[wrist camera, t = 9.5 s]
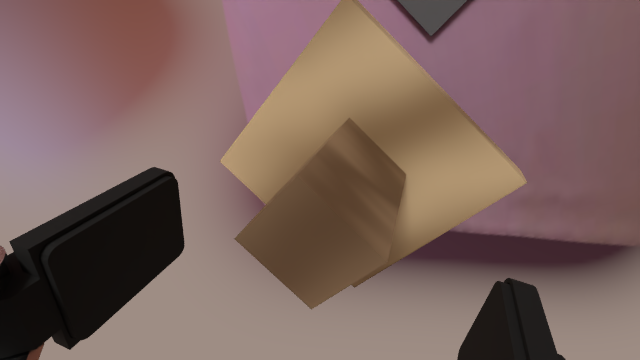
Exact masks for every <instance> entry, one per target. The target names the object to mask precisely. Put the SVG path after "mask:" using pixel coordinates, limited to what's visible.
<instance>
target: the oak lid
mask: <svg viewBox="0 0 640 360" xmlns="http://www.w3.org/2000/svg"><path fill="white" fill-rule="evenodd" d="M220 162H221V163H222V164H223V165H225V167H226V168H228V169H229V170H230V171H231V172H232V173H233V174H234V175H235V176H236V177H237V178H238V179H239V180H240V181H241V182H242V183H244V184H245V185H246V186H247V187H248V188H249V189H250V190H251V191H252V192H253V193H254V194H255V195H256V196H257V197H258V198H260V199H261V200H262V201H263V202H264V203H265V204H266V205H265V206H264V207H263V208H262V210H261V211H260V212H259V213H258V214H257V215H256V216H255V217H254V218H253V219H252V220H251V221H250V223H249V224H248V225H247V226H246V227H245V228H244V229H243V230H242V231H241V233H239V234H238V236H237V237H236V238H235V240H236V241H237V242H238V243H240V244H241V245H242V246H243V247H244V248H245V249H246V250H247V251H248V252H249V253H251V254H252V255H253V256H254V257H255V258H256V259H257V260H258V261H259V262H260V263H261V264H262V265H264V266H265V267H266V268H267V269H268V270H269V271H270V272H271V273H272V274H273V275H274V276H276V277H277V278H278V279H279V280H280V281H281V282H282V283H283V284H284V285H285V286H286V287H288V288H289V289H290V290H291V291H292V292H293V293H294V294H295V295H296V296H297V297H299V298H300V299H301V300H302V301H303V302H304V303H305V304H306V305H307V306H308V307H309V308H310V309H312V308H314V307H316V306H318V305H319V304H321V303H322V302H324V301H326V300H327V299H329V298H330V297H332V296H334V295H335V294H337V293H339V292H340V291H342V290H343V289H345V288H347V287H348V286H350V285H352V286H353V287H356V286H358V285H359V284H361V283H363V282H364V281H366V280H367V279H369V278H371V277H372V276H374V275H376V274H377V273H379V272H381V271H382V270H384V269H386V268H387V267H389V266H391V265H392V264H394V263H396V262H397V261H399V260H401V259H402V258H404V257H405V256H407V255H409V254H410V253H412V252H414V251H415V250H417V249H419V248H420V247H422V246H423V245H425V244H427V243H429V242H430V241H432V240H433V239H435V238H437V237H438V236H440V235H442V234H443V233H445V232H447V231H448V230H450V229H452V228H453V227H455V226H457V225H458V224H460V223H461V222H463V221H465V220H466V219H468V218H470V217H471V216H473V215H475V214H476V213H478V212H480V211H481V210H483V209H485V208H486V207H488V206H489V205H491V204H493V203H494V202H496V201H498V200H499V199H501V198H503V197H504V196H506V195H508V194H509V193H511V192H513V191H514V190H516V189H517V188H519V187H521V186H522V185H524V184H526V183H527V182H526V180H525V178H524V176H523V174H522V172H521V170H520V169H519V168H518V167H517V166H516V165H515V164H514V163H513V162H512V161H511V160H510V159H509V158H508V157H507V156H506V155H505V153H504V152H503V151H502V150H501V149H500V148H499V147H498V146H497V145H496V144H495V143H494V142H493V141H492V140H491V139H490V138H489V137H488V136H487V135H486V134H485V133H484V132H483V131H482V130H481V128H480V127H479V126H478V125H477V124H476V123H475V122H474V121H473V120H472V119H471V118H470V117H469V116H468V115H467V114H466V113H465V112H464V111H463V110H462V109H461V108H460V107H459V106H458V105H457V103H456V102H455V101H454V100H453V99H452V98H451V97H450V96H449V95H448V94H447V93H446V92H445V91H444V90H443V89H442V88H441V87H440V86H439V85H438V84H437V83H436V82H435V81H434V80H433V78H432V77H431V76H430V75H429V74H428V73H427V72H426V71H425V70H424V69H423V68H422V67H421V66H420V65H419V64H418V63H417V62H416V61H415V60H414V59H413V58H412V57H411V56H410V55H409V53H408V52H407V51H406V50H405V49H404V48H403V47H402V46H401V45H400V44H399V43H398V42H397V41H396V40H395V39H394V38H393V37H392V36H391V35H390V34H389V33H388V32H387V31H386V30H385V28H384V27H383V26H382V25H381V24H380V23H379V22H378V21H377V20H376V19H375V18H374V17H373V16H372V15H371V14H370V13H369V12H368V11H367V10H366V9H365V8H364V7H363V6H362V5H361V3H360V2H359V1H358V0H341V1H340V3H339V4H338V5H337V7H336V8H335V9H334V11H333V12H332V13H331V15H330V16H329V17H328V19H327V20H326V21H325V23H324V24H323V25H322V27H321V28H320V29H319V31H318V32H317V33H316V35H315V36H314V37H313V38H312V40H311V41H310V42H309V44H308V45H307V46H306V48H305V49H304V50H303V52H302V53H301V54H300V56H299V57H298V58H297V60H296V61H295V62H294V64H293V65H292V66H291V68H290V69H289V70H288V72H287V73H286V74H285V76H284V77H283V78H282V80H281V81H280V82H279V84H278V85H277V86H276V87H275V89H274V90H273V91H272V93H271V94H270V95H269V97H268V98H267V99H266V101H265V102H264V103H263V105H262V106H261V107H260V109H259V110H258V111H257V113H256V114H255V115H254V117H253V118H252V119H251V121H250V122H249V123H248V125H247V126H246V127H245V129H244V130H243V131H242V133H241V134H240V135H239V137H238V138H237V139H236V140H235V142H234V143H233V144H232V146H231V147H230V148H229V150H228V151H227V152H226V154H225V155H224V156H223V158H222V159H221V160H220Z"/></svg>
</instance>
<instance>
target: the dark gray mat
mask: <svg viewBox="0 0 640 360" xmlns="http://www.w3.org/2000/svg"><path fill="white" fill-rule="evenodd" d="M398 1H399V2H400V3H401V4H402V5H403V7H404V8H405V9H406V10H407V11H408V12H409V13H410V14H411V15H412V16H413V17H414V18H415V20H416V21H417V22H418V23H419V24H420V25H421V26H422V27H423V28H424V29H425V30H426V31H427V33H428V34H429V35H430V36H432V35H433V34H434V33H435V32H436V31H437V30H438V29H439V28H440V27H441V26H442V25H443V24H444V23H445V22H446V21H447V20H448V19H449V18H450V17H451V16H452V15H453V14H454V13H455V12H456V11H457V10H458V9H459V8H460V7H461V6H462V5H463V4H464V3H465V2H466V1H467V0H398Z"/></svg>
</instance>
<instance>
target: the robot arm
mask: <svg viewBox="0 0 640 360" xmlns="http://www.w3.org/2000/svg"><path fill="white" fill-rule="evenodd" d="M10 244H11V246H12V248H13V250H14V252H13V253H11V254H9V255H8V256H7V254H6V252H5V249H4V248H3V247H2V246H0V360H39V357H40V354H41V351H42V349H43V346H44V342H45V341H46V340H48V339H49V338H50V337H51V336H52V338H53V340H54V342H56V343H57V344H59V345H61V346H63V347H65V348H67V349H69V350H70V349H71V348H72V347H74V346H75V345H76V344H77V343H78V342H79V341H80V340H84V339H86V338H88V337H89V336H91V335H92V334H93V333H94V332H95V331H96V330H97V329H99V328H100V327H101V326H102V325H103V324H104V323H105V322H106V321H107V320H109V319H110V318H111V317H112V316H113V315H114V314H115V313H116V312H117V311H119V310H120V309H121V308H122V307H123V306H124V305H125V304H126V303H127V302H129V301H130V300H131V299H132V298H133V297H134V296H135V295H136V294H137V293H139V292H140V291H141V290H142V289H143V288H144V287H145V286H146V285H147V284H148V283H150V282H151V281H152V280H153V279H154V278H155V277H156V276H157V275H159V274H160V273H161V272H162V271H163V270H164V269H165V268H166V267H167V266H168V265H170V264H171V263H172V262H173V261H174V260H175V259H176V258H177V257H179V256H180V254H181V253H182V251H183V249H184V236H183V227H182V217H181V208H180V198H179V189H178V182H177V180H176V179H175V177H174V175H173V173H171V172H169V171H166V170H162V169H159V168H156V167H153V168H150V169H148V170H146V171H144V172H142V173H140V174H138V175H136V176H134V177H133V178H130V179H128V180H127V181H125V182H123V183H121V184H119V185H117V186H115V187H113V188H111V189H109V190H107V191H106V192H104V193H102V194H100V195H98V196H96V197H94V198H92V199H90V200H88V201H86V202H84V203H82V204H80V205H79V206H77V207H75V208H73V209H71V210H69V211H67V212H65V213H63V214H61V215H60V216H58V217H56V218H54V219H52V220H50V221H48V222H46V223H44V224H42V225H40V226H38V227H36V228H35V229H32V230H31V231H29V232H27V233H25V234H23V235H21V236H19V237H17V238H15V239H13V240H11V241H10ZM458 360H565V358H564V357H563V356H562V355H559V354H557V351H556V348H555V345H554V342H553V338H552V335H551V332H550V329H549V326H548V323H547V319H546V316H545V313H544V310H543V307H542V303H541V300H540V297H539V294H538V291H537V289H536V287H535V286H533V285H530V284H527V283H523V282H520V281H517V280H514V279H510V278H507V279H506V280H505V281H504V282H500V281H497V282H496V283H495V284H494V286H493V288H492V290H491V292H490V294H489V296H488V297H487V299H486V301H485V303H484V305H483V306H482V308H481V310H480V312H479V314H478V316H477V318H476V319H475V321H474V323H473V325H472V327H471V329H470V330H469V332H468V334H467V336H466V338H465V340H464V342H463V343H462V345H461V347H460V350H459V353H458Z"/></svg>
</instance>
